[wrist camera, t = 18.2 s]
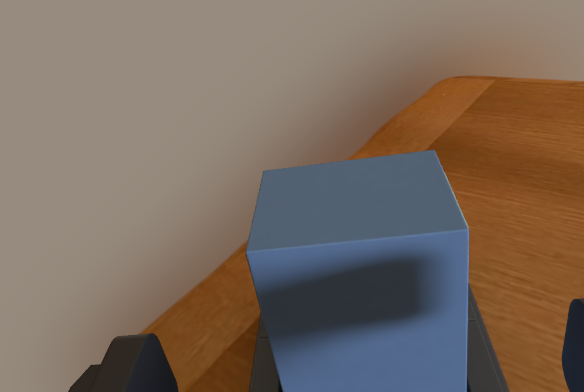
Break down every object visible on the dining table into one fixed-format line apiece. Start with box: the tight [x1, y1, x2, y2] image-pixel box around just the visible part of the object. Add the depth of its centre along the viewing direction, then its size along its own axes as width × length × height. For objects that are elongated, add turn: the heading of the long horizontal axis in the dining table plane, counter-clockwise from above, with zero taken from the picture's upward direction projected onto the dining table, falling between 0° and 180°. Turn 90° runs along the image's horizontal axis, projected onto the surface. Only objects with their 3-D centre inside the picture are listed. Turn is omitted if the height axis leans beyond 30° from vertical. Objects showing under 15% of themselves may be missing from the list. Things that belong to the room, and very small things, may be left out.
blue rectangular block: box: [246, 150, 469, 392], centre depth 15 cm, size 4×5×10 cm
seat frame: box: [249, 175, 510, 392], centre depth 19 cm, size 15×10×8 cm, turn 177°
